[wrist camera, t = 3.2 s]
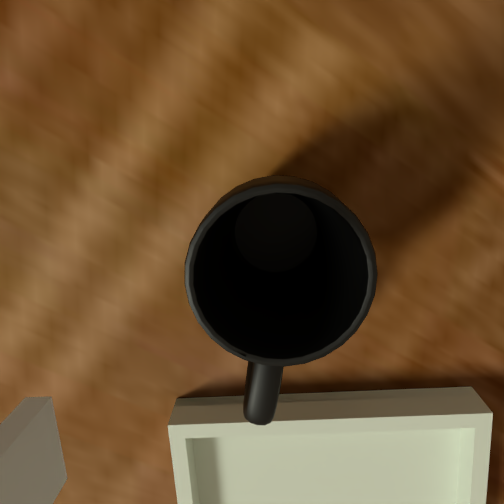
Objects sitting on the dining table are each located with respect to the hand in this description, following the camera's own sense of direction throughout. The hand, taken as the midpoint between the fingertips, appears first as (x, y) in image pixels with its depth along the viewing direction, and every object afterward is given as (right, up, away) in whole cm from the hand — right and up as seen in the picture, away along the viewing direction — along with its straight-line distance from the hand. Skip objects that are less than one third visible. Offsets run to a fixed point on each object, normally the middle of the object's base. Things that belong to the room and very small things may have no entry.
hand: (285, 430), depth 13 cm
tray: (+4, -13, +21) cm, 25 cm away
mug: (0, +4, +16) cm, 17 cm away
